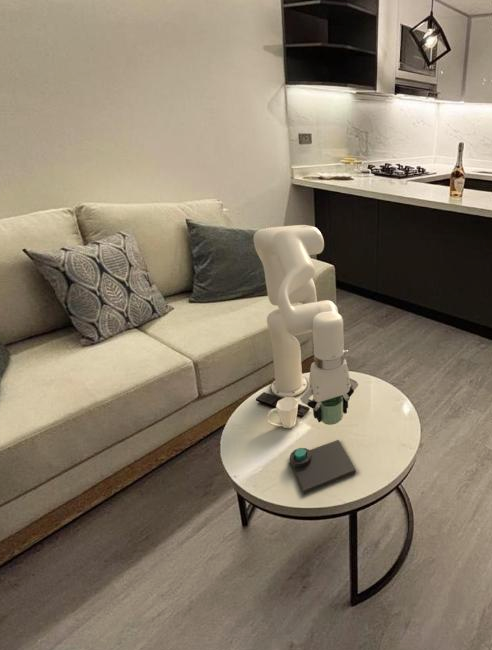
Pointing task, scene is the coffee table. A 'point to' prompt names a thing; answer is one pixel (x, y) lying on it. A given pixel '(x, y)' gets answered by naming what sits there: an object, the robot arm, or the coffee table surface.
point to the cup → (286, 412)
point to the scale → (322, 466)
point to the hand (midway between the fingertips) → (331, 414)
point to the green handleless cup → (332, 410)
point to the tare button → (300, 454)
